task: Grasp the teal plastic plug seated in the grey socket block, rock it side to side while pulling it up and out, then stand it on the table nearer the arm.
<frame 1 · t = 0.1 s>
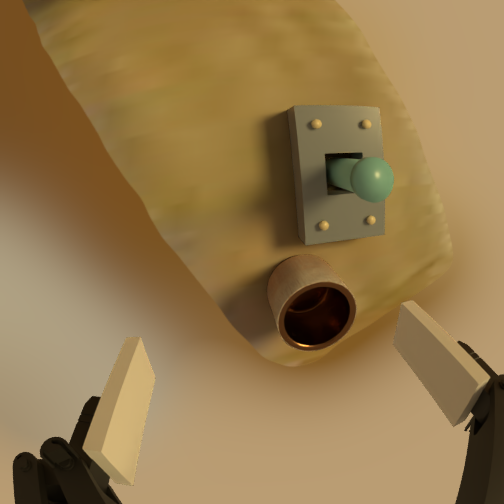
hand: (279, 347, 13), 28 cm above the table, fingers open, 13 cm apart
plug: (334, 171, 38), resting in grey socket block
grey socket block: (334, 171, 38), on the table
planter: (300, 285, 44), on the table
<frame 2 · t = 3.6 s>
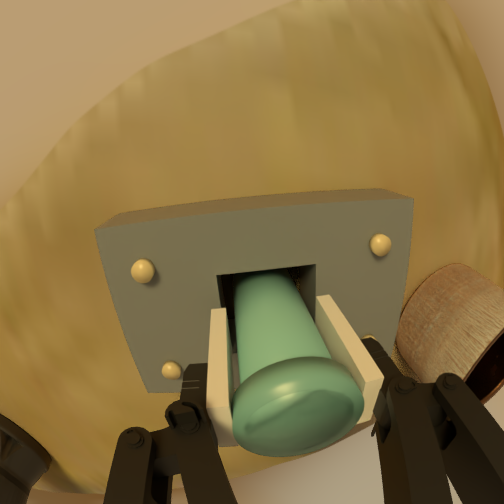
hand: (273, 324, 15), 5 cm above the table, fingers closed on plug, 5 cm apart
plug: (261, 282, 20), resting in grey socket block, touching gripper
grey socket block: (261, 282, 20), on the table
planter: (436, 311, 23), on the table
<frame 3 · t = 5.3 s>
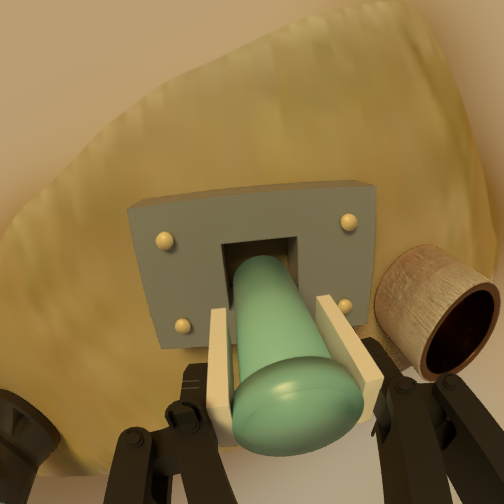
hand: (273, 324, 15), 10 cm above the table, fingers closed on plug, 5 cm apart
plug: (261, 282, 20), point 5 cm above the table, touching gripper
grey socket block: (256, 256, 25), on the table
planter: (412, 289, 28), on the table
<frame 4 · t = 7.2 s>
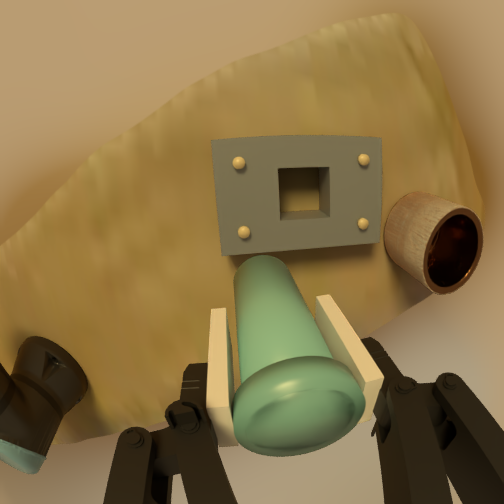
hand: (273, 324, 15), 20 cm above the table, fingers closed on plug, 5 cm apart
plug: (262, 282, 20), point 15 cm above the table, touching gripper
grey socket block: (296, 188, 32), on the table
planter: (412, 228, 35), on the table
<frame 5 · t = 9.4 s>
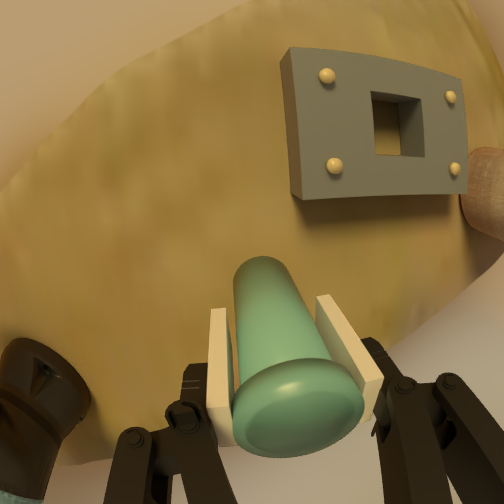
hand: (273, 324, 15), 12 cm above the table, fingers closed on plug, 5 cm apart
plug: (261, 283, 20), point 7 cm above the table, touching gripper
grey socket block: (377, 127, 23), on the table
planter: (481, 188, 26), on the table
when the fingers open (6 cm above the table, at t = 11.2 s): plug stays where it is, on the table.
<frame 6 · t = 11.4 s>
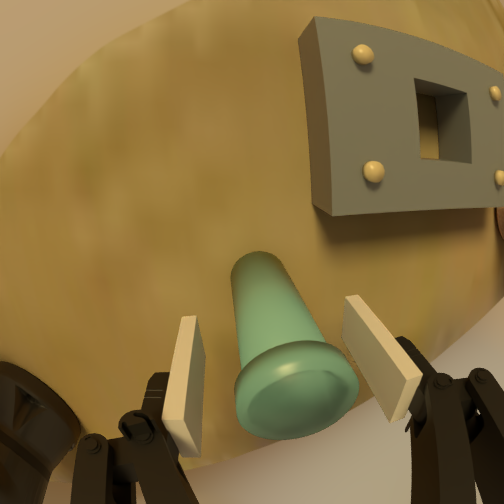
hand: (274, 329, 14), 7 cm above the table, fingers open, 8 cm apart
plug: (258, 277, 21), on the table
grey socket block: (414, 124, 18), on the table
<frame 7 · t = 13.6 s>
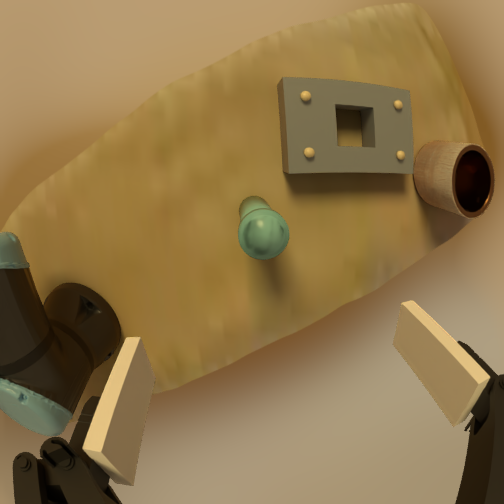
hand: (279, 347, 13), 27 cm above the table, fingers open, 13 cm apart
plug: (254, 210, 38), on the table
grey socket block: (344, 127, 35), on the table
planter: (435, 173, 38), on the table
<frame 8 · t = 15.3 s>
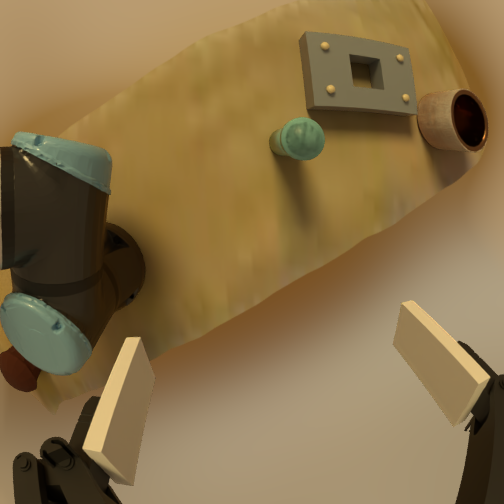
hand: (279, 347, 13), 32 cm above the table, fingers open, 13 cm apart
plug: (282, 142, 40), on the table
muffin: (29, 355, 49), on the table
grey socket block: (356, 77, 37), on the table
planter: (435, 121, 40), on the table
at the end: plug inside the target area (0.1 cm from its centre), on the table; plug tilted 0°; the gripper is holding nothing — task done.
